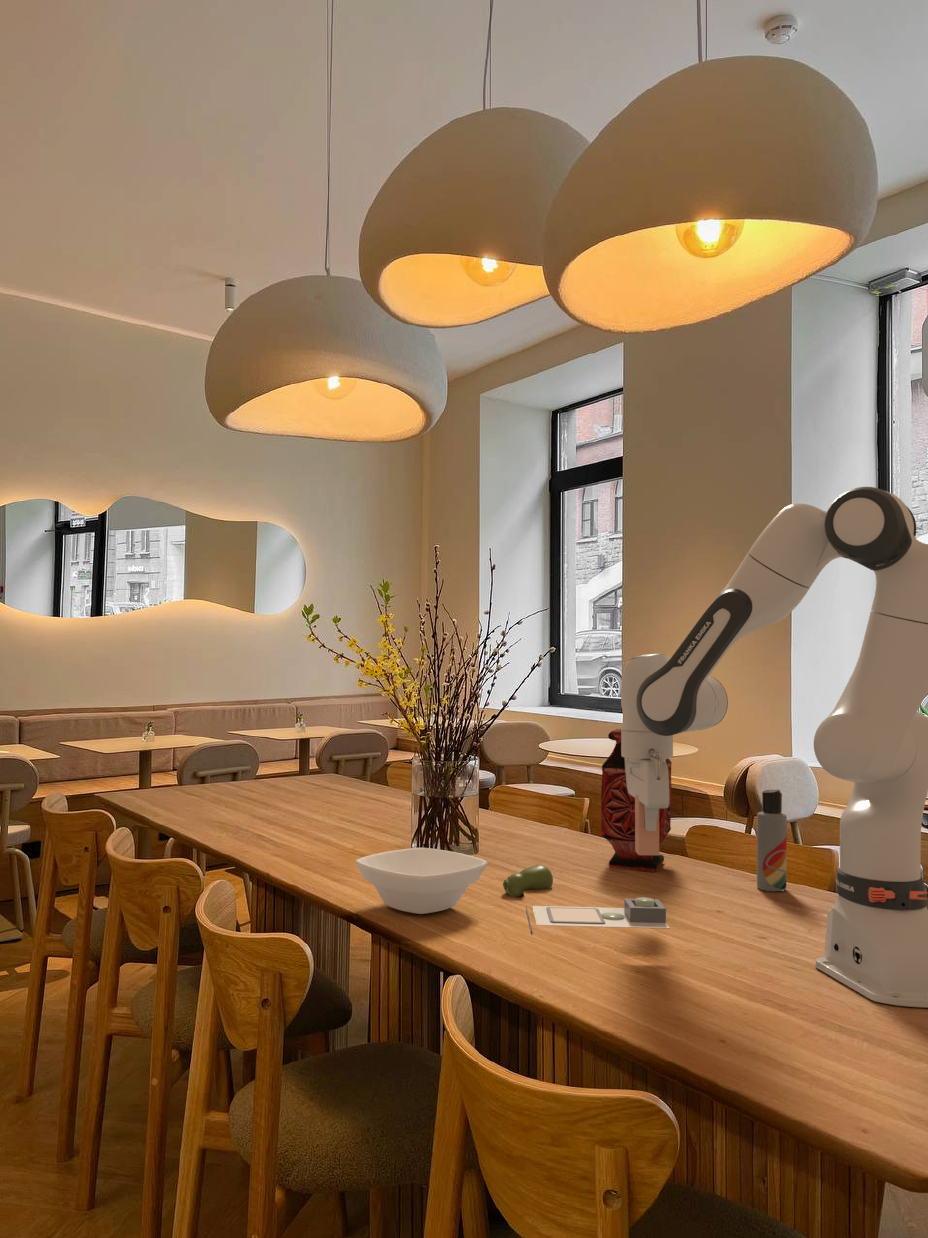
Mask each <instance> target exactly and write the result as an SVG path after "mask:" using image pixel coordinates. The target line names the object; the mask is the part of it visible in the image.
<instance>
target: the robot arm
mask: <svg viewBox="0 0 928 1238" xmlns="http://www.w3.org/2000/svg"><path fill="white" fill-rule="evenodd" d="M916 536H917V521H916V518H915V516H914V513H913V512H912V510H911V509H910V508H909V506H907V505H906V503H904V502H903V500H902V499H901V498H899V497H898V496H897V495H895V494H893V493H891V492H889V491H887V490H883V489H881V488H878V487H875V486H874V487H873V486H860V487H854V488H852V489H849V490H846V491H845V492H843V493H841V494H840V495H838V496H837V497H836V498H835V499H834V500H833V501H832V502H831V504H830V506H829V507H828V509H827V510H822V509H820V508H819V507H816V506H814V505H811V504H807V503H792V504H789V505H787V506H784V508H782V509H781V510H780V511H779V512H778V513H777V514H776V515H775V516H774V517H773V519H771V521H770V522H769V523H768V524H767V526H766V527H765V528H764V529H763V530H762V532H761V533H760V534H759V536H758V537H757V539H755V540H754V543H753V544H752V545H751V547H750V549H749V550H748V552H747V553H746V554H745V556H744V557H743V560H742V561H741V562H740V564H739V565H738V568H737V569H736V571H735V572H734V573H733V575H732V577H731V578H730V579H729V581H728V582H727V583H726V585H725V586H724V587H723V589H722V590H721V592H719V594H718V595H717V596H716V597H715V600H714V601H713V602H712V603H711V604H710V605H709V606H708V608H707V609H706V610H705V612H704V613H703V614H702V615H701V617H700V618H699V619H698V621H697V622H696V623H695V625H694V626H693V627H692V629H691V630H690V631H689V632H688V634H687V636H686V637H685V638H684V639H683V641H682V642H681V643H680V645H679V647H678V648H677V649H676V650H675V652H674V653H673V655H672V656H671V657H670V656H668V655H667V654H665V653H650V654H642V655H638V656H635V657H634V656H633V657H632V658H631V659H629V660H627V661H626V663H625V665H624V666H623V667H624V668H623V672H622V678H621V692H620V693H621V694H620V697H621V698H620V699H621V700H620V701H621V703H620V705H621V710H622V713H623V714H622V715H623V720H622V723H621V727H620V729H621V756H622V757H625V772H626V783H627V789H628V793H629V794H630V795H632V796H633V797H634V798H635V795H638V796H639V801H640V802H641V803H643V804H644V809H645V819H644V828H645V829H646V830H647V831H655V830H656V820H657V815H658V808H668V806H669V776H668V767H667V764H666V759H669V760H671V759H673V758H674V735H677V734H681V733H686V732H688V733H689V732H695V731H696V732H697V731H703V730H707V729H710V728H713V727H715V726H717V725H718V724H720V723H721V722H722V720H723V719H724V718H725V716H726V714H727V710H728V706H729V700H728V695H727V692H726V689H725V687H724V686H723V684H722V683H721V682H720V681H719V680H718V679H716V678H715V677H714V676H713V677H712V676H710V675H711V673H712V672H713V671H714V670H715V668H716V667H717V666H718V664H719V663H720V662H721V660H722V659H723V657H724V656H725V654H727V652H728V651H729V649H730V648H731V647H732V646H733V645H735V643H737V642H738V641H739V640H740V639H742V638H744V637H745V636H747V635H749V634H751V633H753V632H755V631H758V630H760V629H762V628H766V627H769V626H771V625H775V624H777V623H780V622H782V621H783V620H784V619H785V618H786V617H788V616H789V614H791V613H792V612H793V611H794V609H796V607H798V605H799V604H800V603H801V601H803V599H804V597H805V596H806V595H807V593H808V591H809V590H810V589H811V587H812V586H813V584H814V583H815V581H816V580H817V577H818V576H819V575H820V573H821V572H822V571H823V569H824V568H825V567H827V565H828V564H829V563H831V562H832V561H833V560H835V559H839V558H843V559H848V560H851V561H853V562H855V563H858V564H859V565H860V566H863V567H865V568H867V569H869V570H870V571H873V573H874V574H875V578H876V580H875V581H876V583H875V584H876V587H875V592H874V598H873V601H872V605H871V609H870V613H869V616H868V621H867V624H866V625H867V626H866V629H865V633H864V637H863V641H862V645H861V648H860V652H859V656H858V659H857V662H856V665H855V667H854V669H853V671H852V674H851V676H850V678H849V680H848V682H847V683H846V685H845V687H844V689H843V692H842V693H841V696H839V699H838V701H837V703H836V705H835V706H834V708H833V710H832V711H831V712H830V713H829V715H828V716H827V717H826V718H824V720H823V721H822V722H821V723H820V724H819V726H818V727H817V728H816V731H815V734H814V736H813V751H814V755H815V758H816V760H817V762H818V763H819V765H820V766H821V767H822V769H823V770H825V771H826V772H827V773H828V774H829V775H832V776H833V777H834V778H837V779H841V780H844V781H847V782H852V783H853V788H852V792H851V794H850V798H849V801H848V803H847V805H846V807H845V808H844V810H843V811H842V814H841V815H840V819H839V868H837V870H836V877H835V884H836V890H835V891H836V894H837V895H838V897H837V898H836V901H835V903H834V904H833V906H831V908H829V910H828V911H827V915H826V916H827V917H826V927H825V941H824V955H823V956H821V957H817V958H816V960H815V967H816V969H818V970H819V971H822V973H825V974H826V975H828V976H830V977H832V978H833V979H835V980H837V981H838V982H839V983H842V984H843V985H845V986H847V987H848V988H851V989H853V990H854V991H856V993H857V992H858V993H859V994H860V995H863V996H864V997H865V998H867V999H869V1000H871V1001H873V1002H877V1003H882V1004H887V1005H894V1006H898V1007H899V1006H900V1007H901V1006H902V1007H912V1008H928V896H927V895H928V891H927V887H926V886H925V880H924V878H923V877H922V876H921V873H922V872H921V868H922V867H921V866H922V864H921V863H922V862H921V858H922V856H921V852H922V843H921V842H922V841H921V840H922V823H923V815H924V811H925V810H924V809H925V804H926V801H927V796H928V716H927V715H924V714H923V713H921V712H918V710H919V708H920V706H921V704H922V702H923V700H924V699H925V697H926V695H927V694H928V544H927V543H924V542H921V541H919V540H918V539H917V538H916Z"/></svg>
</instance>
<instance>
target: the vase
mask: <svg viewBox="0 0 928 1238" xmlns="http://www.w3.org/2000/svg"><path fill="white" fill-rule="evenodd" d="M607 737H608V739H609V740H611V741H615V745H614V748H613V750H612V752H611V753H610V755H609V756H608V757H607V758H606V760H605V761H604V762H603V764H602V765H601V771H602V774H601V777H602V779H601V788H600V789H601V795H600V796H601V808H600V809H601V823H600V827H601V837H603V838H604V839H606V841H608V843H609V844H610V845H611V846H612V849H613V850H614V854H613V856H612V857H611V858H610V860H609V861H608V866H609V868H611V869H617V870H626V869H628V870H629V871H637V870H638V871H639V872H647V871H649V873H656V872H658V870H659V869H660V867H661V865H663V863H664V861H665V856H664V855H663V854H660V853H659V855H638V854H637V853H636V852H635V798H634V797H633V796H632V795H630V794H629V793H628V789H627V783H626V772H625V757H622V756H621V728H616V729H614V730H612V731H610V732H609V733H608V736H607ZM666 764H667V767H668V776H669V806H668V808H659V848H660V847H661V844H662V843H663V842H664V840H665V839H666V837H667V836H668V834H669V833H670V831H671V830H672V827H671V820H672V819H671V816H672V815H671V812H672V811H671V810H672V761H671V759H666Z"/></svg>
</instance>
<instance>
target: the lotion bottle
mask: <svg viewBox="0 0 928 1238" xmlns="http://www.w3.org/2000/svg"><path fill="white" fill-rule="evenodd" d="M761 794H762V795H761V797H762V798H761V800H762V801H761V802H762V803H761V804H762V808H761V809H762V811H759V812H757V814H756V815H757V817H756V818H757V819H756V835H757V836H756V887H757V889H758V888H759V889H758V890H760V889H762V890H761V891H763V890H767V891H766V892H769V891H782V890H785V891H786V890H787V876H788V875H787V859H788V857H787V856H788V855H787V853H788V852H787V849H788V847H787V845H788V842H787V841H788V839H787V835H788V833H787V832H788V831H787V829H788V828H787V826H788V825H787V823H788V822H787V821H788V819H787V818H788V817H787V814H785V813H783V810H782V809H783V808H782V807H783V796H782V795H783V793H782V792H781V790H780V789H766V790H763V791H762V792H761Z"/></svg>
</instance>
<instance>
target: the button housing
mask: <svg viewBox="0 0 928 1238" xmlns="http://www.w3.org/2000/svg"><path fill="white" fill-rule="evenodd" d="M635 899H636V898H624V900H623V901H624V903H623V904H624V905H623V906H624V907H623V908H624V913H625V915H626V916H627V918H628V919H629V921H630V922H644V923H666V924H667V920H666V919H667V909H666V907H665V905H664V904H663V903H662V902H661V900H660V899H654V907H642V906H635Z"/></svg>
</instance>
